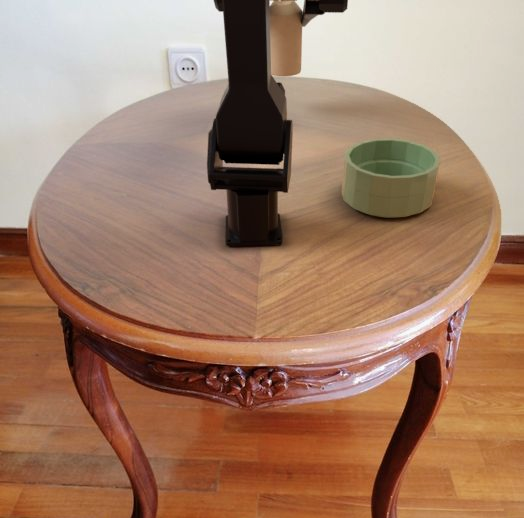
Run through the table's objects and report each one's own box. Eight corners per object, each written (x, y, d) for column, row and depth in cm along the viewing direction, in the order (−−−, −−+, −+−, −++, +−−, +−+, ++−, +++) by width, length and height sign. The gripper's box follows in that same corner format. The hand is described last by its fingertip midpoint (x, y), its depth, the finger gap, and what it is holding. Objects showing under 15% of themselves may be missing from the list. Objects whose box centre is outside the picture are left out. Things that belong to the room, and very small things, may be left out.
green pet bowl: (442, 219, 71) (451, 175, 67) (348, 222, 71) (352, 179, 67) (420, 177, 79) (426, 137, 75) (336, 180, 79) (339, 139, 75)
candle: (262, 75, 93) (260, 3, 86) (272, 65, 97) (271, -5, 90) (296, 78, 92) (297, 4, 85) (304, 67, 96) (306, -3, 89)
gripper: (355, -114, 75) (349, -27, 91) (210, -112, 77) (229, -27, 92) (349, -30, 74) (344, 43, 90) (203, -30, 76) (223, 42, 92)
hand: (285, 23), depth 91 cm, fingers closed on candle, 5 cm apart
